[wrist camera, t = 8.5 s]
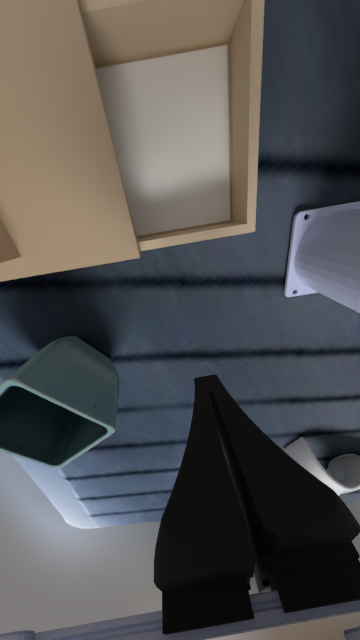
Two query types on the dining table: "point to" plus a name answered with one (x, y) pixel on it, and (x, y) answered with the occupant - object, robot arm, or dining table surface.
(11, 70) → the mailer lid
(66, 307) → the dining table surface
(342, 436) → the dining table surface
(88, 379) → the flower pot
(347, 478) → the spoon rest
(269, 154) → the dining table surface
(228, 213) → the box
